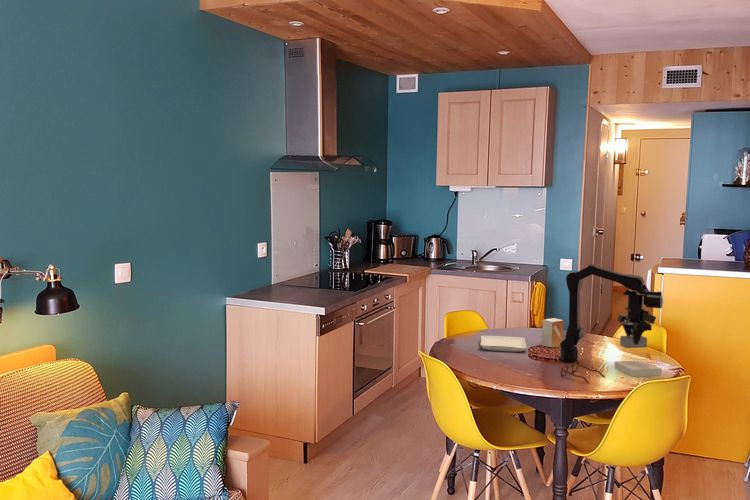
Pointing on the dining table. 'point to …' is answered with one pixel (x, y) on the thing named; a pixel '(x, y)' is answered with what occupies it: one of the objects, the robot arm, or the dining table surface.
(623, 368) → the stand
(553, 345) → the small box
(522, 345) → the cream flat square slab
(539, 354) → the dining table surface
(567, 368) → the glasses
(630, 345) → the block
